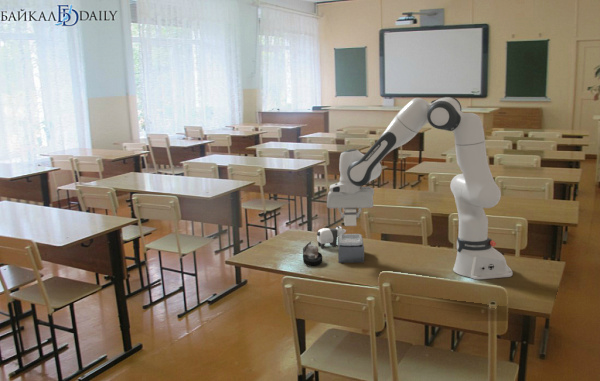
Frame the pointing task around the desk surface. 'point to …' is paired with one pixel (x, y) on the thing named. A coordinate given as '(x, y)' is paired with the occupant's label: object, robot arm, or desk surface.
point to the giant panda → (329, 236)
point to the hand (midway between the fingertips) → (350, 217)
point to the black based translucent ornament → (311, 255)
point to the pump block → (350, 216)
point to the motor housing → (350, 248)
